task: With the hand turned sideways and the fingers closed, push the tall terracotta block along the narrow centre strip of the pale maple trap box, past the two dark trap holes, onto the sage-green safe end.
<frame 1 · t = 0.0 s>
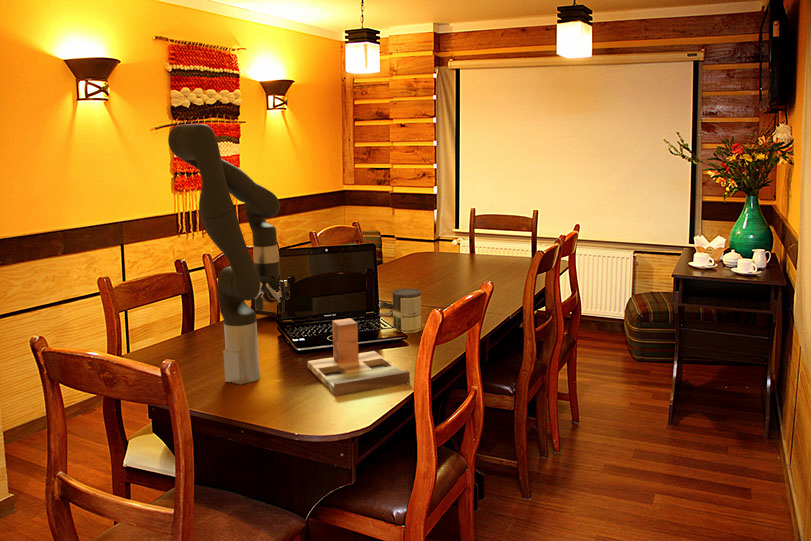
hand: (270, 311, 216), 17 cm above the table, tool pointing down, fingers open, 8 cm apart
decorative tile: (385, 313, 282), on the table
trap box: (355, 373, 210), on the table
block: (346, 359, 217), point 2 cm above the table, touching trap box
coffee can: (407, 330, 256), on the table
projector: (283, 315, 279), on the table
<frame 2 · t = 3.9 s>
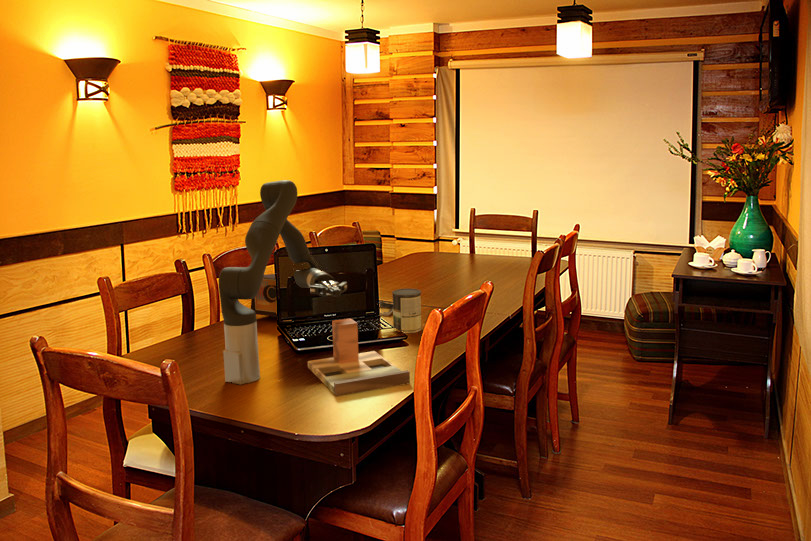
hand: (337, 293, 219), 22 cm above the table, tool horizontal, fingers closed
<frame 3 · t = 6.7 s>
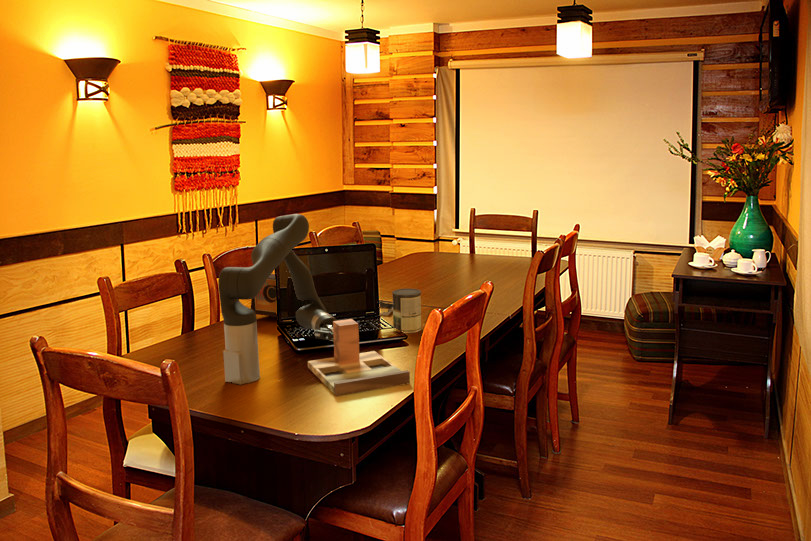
hand: (342, 338, 218), 8 cm above the table, tool horizontal, fingers closed
block: (346, 360, 216), point 2 cm above the table, touching gripper, trap box
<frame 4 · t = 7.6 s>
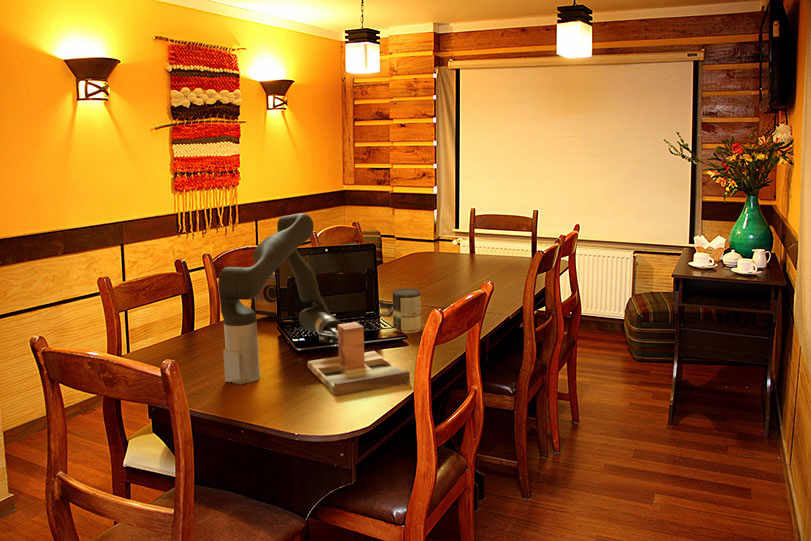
hand: (347, 342, 214), 8 cm above the table, tool horizontal, fingers closed
block: (351, 364, 213), point 2 cm above the table, touching gripper, trap box
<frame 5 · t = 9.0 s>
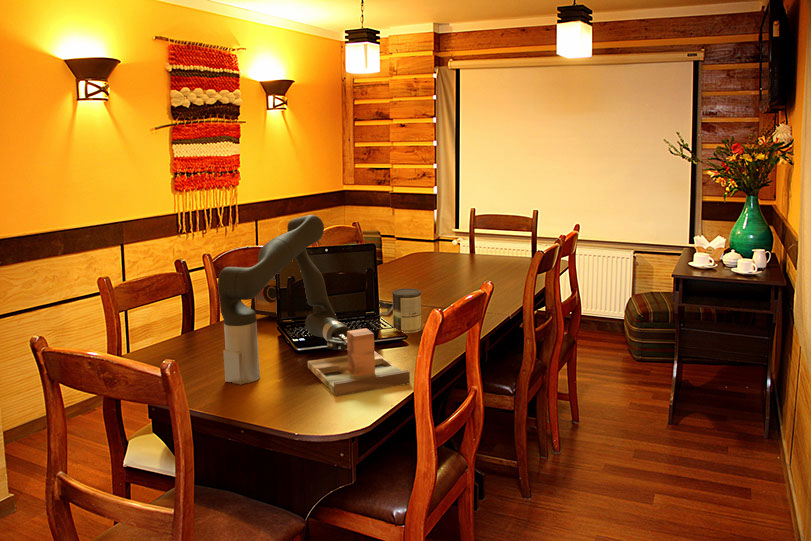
hand: (356, 349, 207), 8 cm above the table, tool horizontal, fingers closed
block: (361, 372, 206), point 2 cm above the table
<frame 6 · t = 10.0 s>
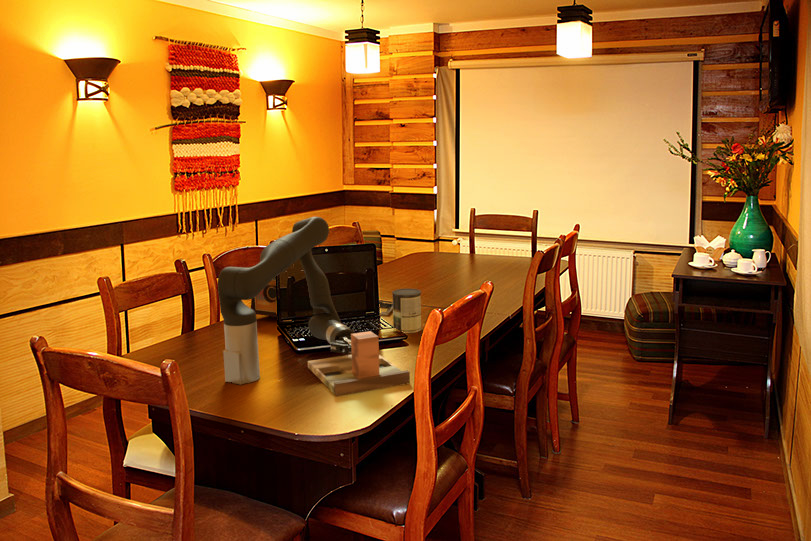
hand: (360, 352, 204), 8 cm above the table, tool horizontal, fingers closed
block: (365, 375, 203), point 2 cm above the table, touching gripper, trap box
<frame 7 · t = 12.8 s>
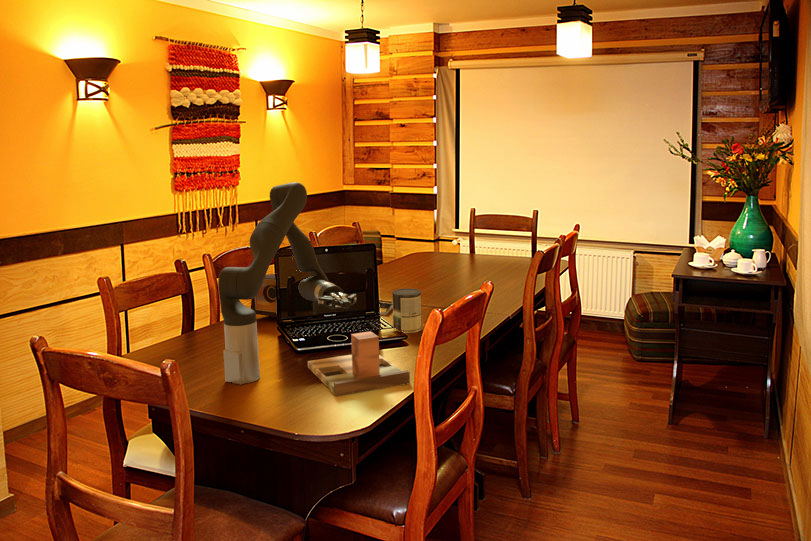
hand: (347, 305, 211), 20 cm above the table, tool horizontal, fingers closed
block: (366, 375, 202), point 2 cm above the table, touching trap box
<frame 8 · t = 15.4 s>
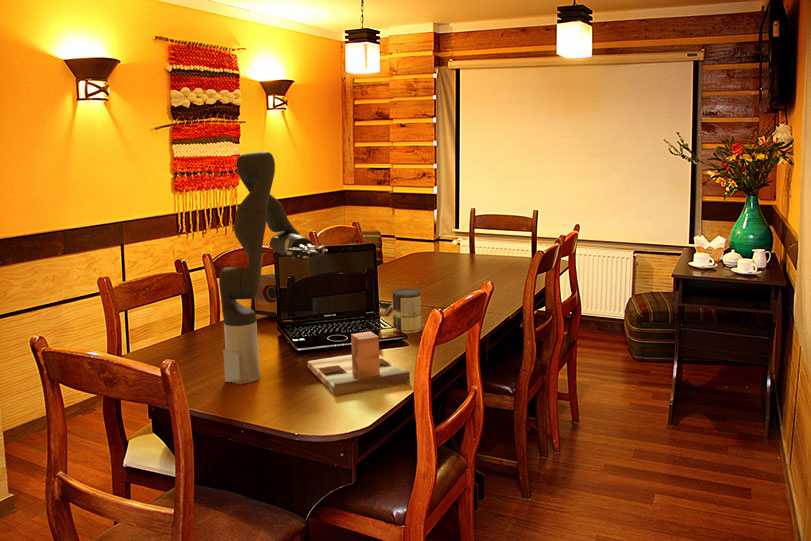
hand: (314, 255, 215), 34 cm above the table, tool horizontal, fingers closed
at the end: block 1.4 cm from the target spot on the trap box, point 2.0 cm above the trap box's base; block tilted 0° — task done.
